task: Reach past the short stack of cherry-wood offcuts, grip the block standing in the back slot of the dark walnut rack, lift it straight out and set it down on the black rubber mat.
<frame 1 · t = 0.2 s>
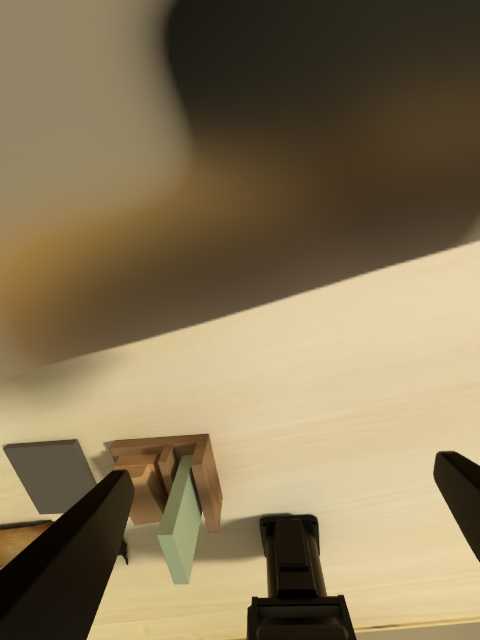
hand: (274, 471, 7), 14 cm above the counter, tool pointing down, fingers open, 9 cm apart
offcut upper: (143, 489, 25), point 2 cm above the counter, touching offcut lower
block: (193, 477, 26), point 1 cm above the counter, touching rack
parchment: (39, 542, 33), on the counter
mat: (59, 476, 28), on the counter
rack: (170, 470, 27), on the counter
offcut lower: (147, 479, 26), point 1 cm above the counter, touching offcut upper, rack
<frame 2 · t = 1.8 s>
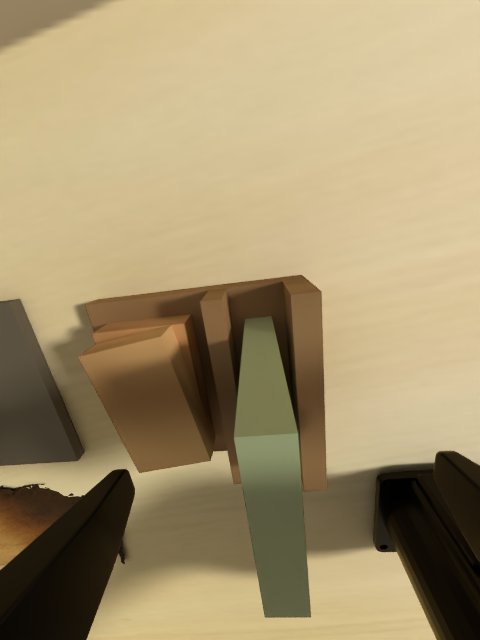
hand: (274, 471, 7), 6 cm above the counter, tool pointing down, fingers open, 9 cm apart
offcut upper: (159, 393, 11), point 2 cm above the counter, touching offcut lower
block: (264, 375, 12), point 1 cm above the counter, touching rack
rack: (211, 370, 13), on the counter
offcut lower: (165, 384, 13), point 1 cm above the counter, touching offcut upper, rack
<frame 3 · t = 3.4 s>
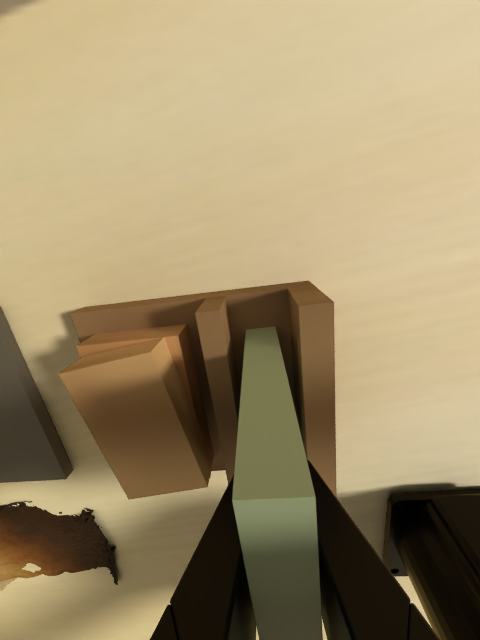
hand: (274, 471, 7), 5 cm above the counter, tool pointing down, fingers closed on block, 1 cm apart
offcut upper: (151, 411, 10), point 2 cm above the counter, touching offcut lower
block: (267, 390, 11), point 1 cm above the counter, touching gripper, rack
rack: (209, 383, 12), on the counter
offcut lower: (159, 399, 12), point 1 cm above the counter, touching offcut upper, rack
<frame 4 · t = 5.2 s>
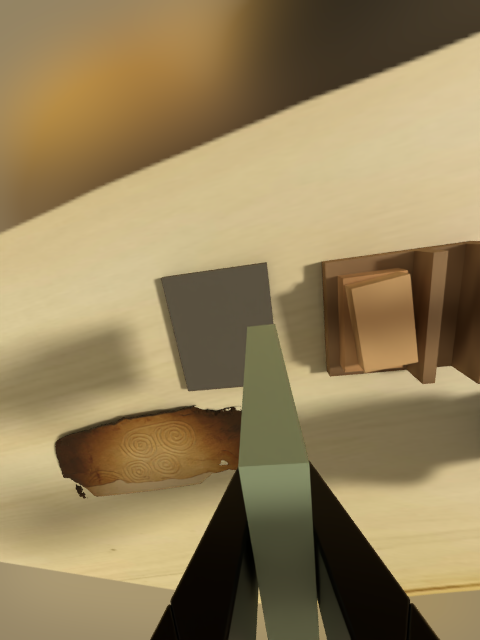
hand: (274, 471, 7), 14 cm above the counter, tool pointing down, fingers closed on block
offcut upper: (377, 320, 17), point 2 cm above the counter, touching offcut lower
block: (267, 385, 12), point 9 cm above the counter, touching gripper
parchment: (167, 446, 26), on the counter
mat: (224, 330, 21), on the counter
rack: (391, 312, 19), on the counter
offcut lower: (366, 319, 19), point 1 cm above the counter, touching offcut upper, rack
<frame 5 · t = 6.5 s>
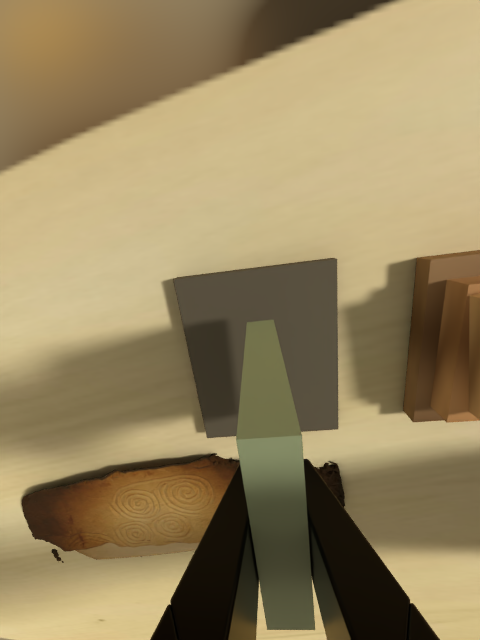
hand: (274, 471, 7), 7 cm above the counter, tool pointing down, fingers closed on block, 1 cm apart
block: (266, 379, 12), point 2 cm above the counter, touching gripper
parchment: (174, 501, 19), on the counter
mat: (262, 355, 14), on the counter
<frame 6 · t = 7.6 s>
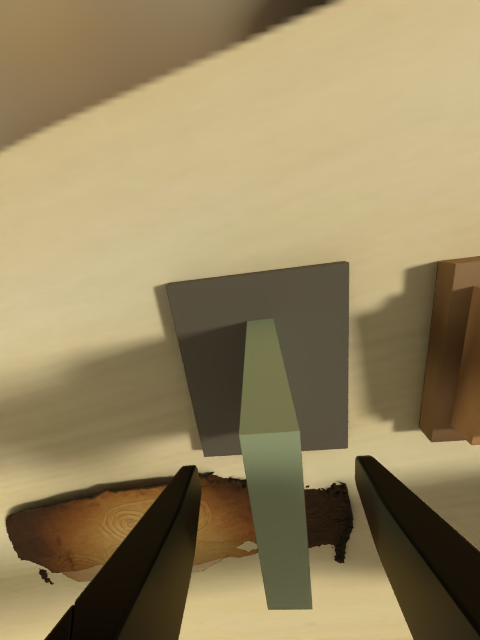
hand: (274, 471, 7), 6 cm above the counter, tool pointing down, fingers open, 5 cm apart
block: (266, 376, 13), point 1 cm above the counter, touching mat
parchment: (169, 521, 18), on the counter
mat: (265, 368, 13), on the counter
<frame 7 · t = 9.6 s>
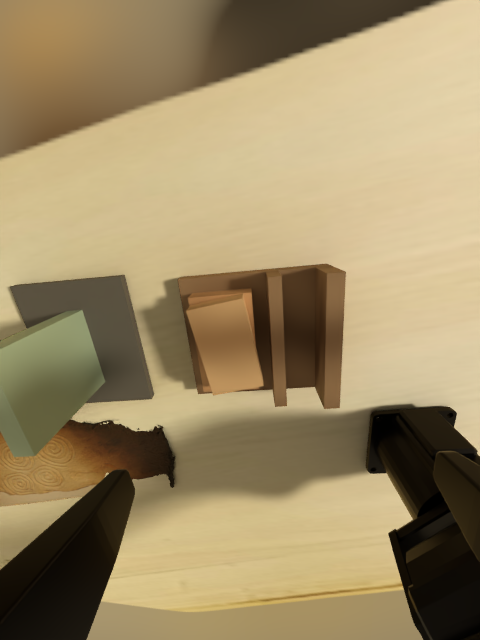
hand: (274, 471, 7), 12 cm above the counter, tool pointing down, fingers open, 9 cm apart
offcut upper: (228, 341, 17), point 2 cm above the counter, touching offcut lower
block: (86, 348, 19), point 1 cm above the counter, touching mat
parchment: (51, 458, 25), on the counter
mat: (90, 343, 20), on the counter
rack: (257, 331, 19), on the counter
offcut lower: (227, 338, 18), point 1 cm above the counter, touching offcut upper, rack
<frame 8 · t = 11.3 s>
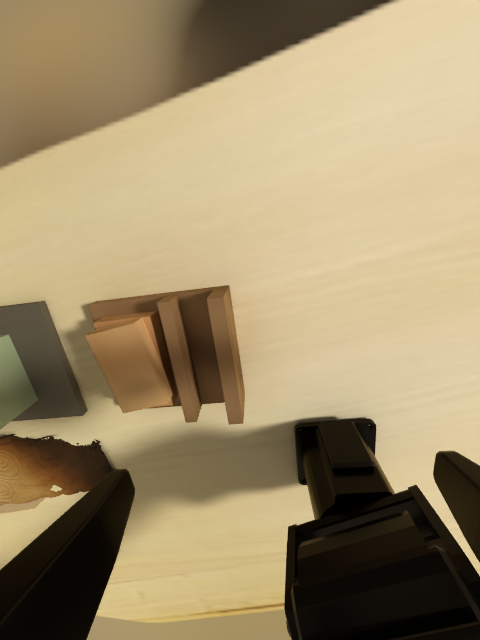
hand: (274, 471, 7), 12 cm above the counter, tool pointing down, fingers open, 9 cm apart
offcut upper: (136, 362, 18), point 2 cm above the counter, touching offcut lower
block: (17, 369, 20), point 1 cm above the counter, touching mat
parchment: (3, 472, 26), on the counter
mat: (22, 364, 21), on the counter
rack: (174, 349, 20), on the counter
offcut lower: (142, 358, 19), point 1 cm above the counter, touching offcut upper, rack
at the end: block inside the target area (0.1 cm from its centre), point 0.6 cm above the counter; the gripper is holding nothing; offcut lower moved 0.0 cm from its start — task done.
